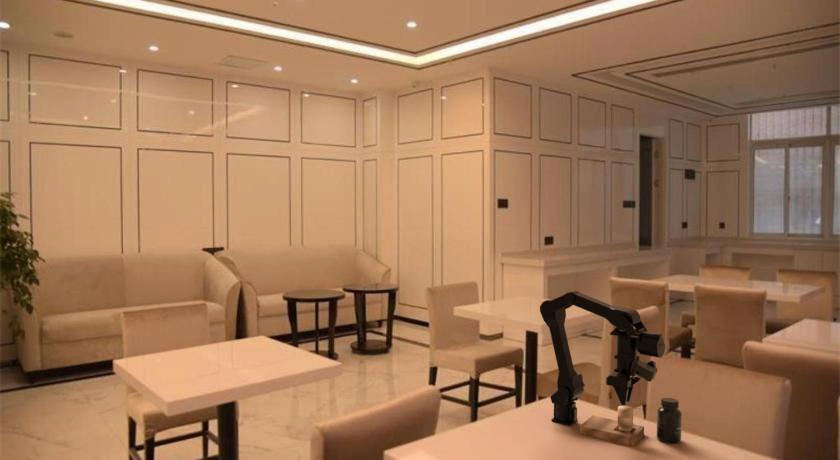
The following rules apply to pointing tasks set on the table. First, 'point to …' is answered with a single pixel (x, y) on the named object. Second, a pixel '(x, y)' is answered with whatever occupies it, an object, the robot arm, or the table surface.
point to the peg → (625, 419)
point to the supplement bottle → (669, 421)
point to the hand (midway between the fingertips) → (625, 403)
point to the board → (610, 430)
